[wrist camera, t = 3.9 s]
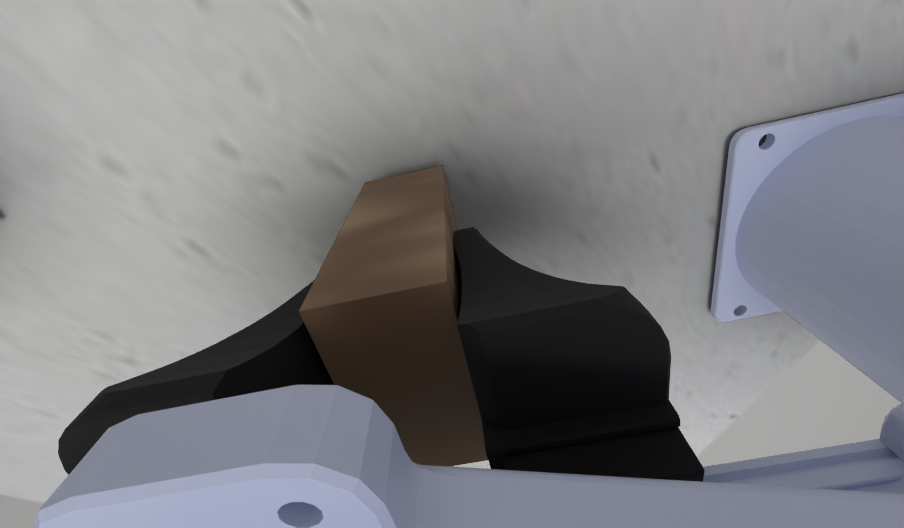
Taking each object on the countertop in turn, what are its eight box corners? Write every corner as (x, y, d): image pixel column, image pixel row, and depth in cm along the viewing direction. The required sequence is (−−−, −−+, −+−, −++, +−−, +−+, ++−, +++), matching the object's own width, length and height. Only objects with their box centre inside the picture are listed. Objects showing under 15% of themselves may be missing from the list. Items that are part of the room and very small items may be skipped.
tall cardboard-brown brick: (442, 165, 13) (447, 281, 7) (470, 286, 15) (493, 459, 9) (365, 182, 13) (298, 311, 7) (403, 299, 15) (378, 477, 9)
